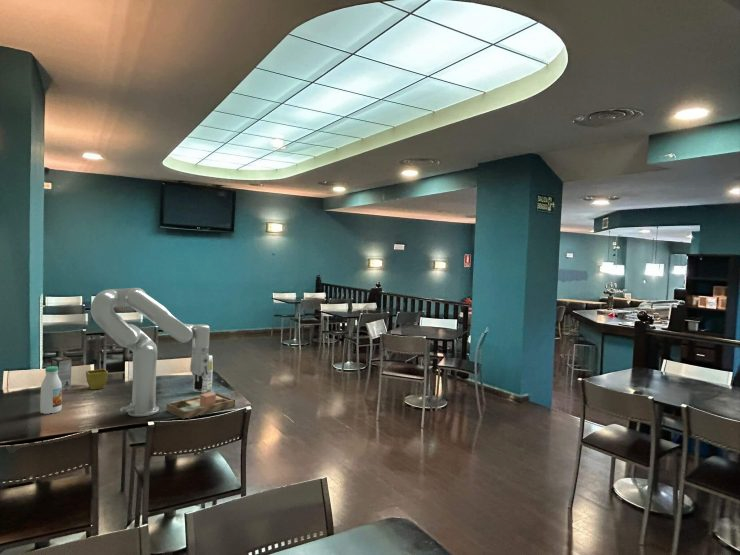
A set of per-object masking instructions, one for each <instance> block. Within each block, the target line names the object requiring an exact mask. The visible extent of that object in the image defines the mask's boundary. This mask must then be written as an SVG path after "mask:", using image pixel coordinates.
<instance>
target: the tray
mask: <svg viewBox="0 0 740 555" xmlns="http://www.w3.org/2000/svg"><path fill="white" fill-rule="evenodd" d="M213 394H216V403H215V404H212V405H208V406H204V407H203V406H201V405H200V395H199V396H195V397H191V398H187V399H186V398H185V399H183V400H182V399H181V400H179V401H173V402H169V403H168V402H167V403H166V406H165V407H166V410H165V411H166V412H168V413H170V414H171V415H174V416H176V417H178V418H180V419H182V420H184V419H185V418H188V419H191V418H195V416H196V417H199V416H198V415H200V416H203V415H207V413H208V414H211V412H212V413H215V412H218V410H219V411H222V410H221V409H223V410H226V408H227V409H230V408H234V407H236V399H235V398H232V397H230V396H227V395H225V394H222V393H219V392H213ZM214 411H215V412H214ZM185 420H186V419H185Z"/></svg>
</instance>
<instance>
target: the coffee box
mask: <svg viewBox="0 0 740 555" xmlns="http://www.w3.org/2000/svg"><path fill="white" fill-rule="evenodd" d="M72 360H73V359H72V358H71V357H68V356H66V355H61V356H55V357H51V358H50V367H51V366H57V367H58V372H57V374H58V377H59V379H60V381H61V384H62V391H65V389H67V390H71V389H72V365H73V364H72V363H73V362H72ZM70 388H71V389H70Z"/></svg>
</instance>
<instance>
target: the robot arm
mask: <svg viewBox="0 0 740 555" xmlns="http://www.w3.org/2000/svg"><path fill="white" fill-rule="evenodd" d="M123 307H124V308H125V307H130V308H131V309H132V310H135V312H137V313H139V314H140V315H142V316H143V317H144V318H146V319H147V320H149V321H150V322H151V323H153V324H154V325H155V326H157V327H158V328H160V329H161V330H162V331H163V332H165V333H166V334H167V335H169V336H170V337H172V339H173V338H174V339H175V340H176V341H178V342H179V343H182V344H183V343H188V342H190V341H191V340H192V341H191V357H190V364H189V365H190V367H189V368H190V373H191V375H194V380H196V381H195V385H194V389H196V390H197V389H202V384H203V379H204V378H206V374H207V375H208V374H209V372H210V362H209V355H210V354H209V351H210V350H209V349H210V333H211V332H210V330H211V329H210V326H209V325H208V324H204V323H203V324H202V323H201V324H200V323H199V324H192V323H183V322H182V321H181V320H179V319H178V318H177V317H175V316H174V315H173V314H172V313H171V312H170V311H169V309H168V308H166V307H165V305H163V304H162V303H160V302H158V300H156V299H154V298H153V297H152V296H150V295H149V294H147V292H146V291H145V290H144V289H142V288H140V287H129V288H127V287H126V288H113V289H112V288H108V289H105V290H102V291H100V292H99V293H97V294H96V295H95V297H94V298H93V300H92V302H91V304H90V314H91V318H92V319H93V321H94V322H95V323H96V324H97V326H99V327H100V329H102V330H103V331H104V332H105V333H106V334H107V335H108V336H110V338H111V339H112V340H114V341H115V343H117V344H118V345H119V346H120V347H122V348H127V349H129V350H130V351H131V352H132V390H131V391H132V396H131V402H129V405H127V406H122V407H119V408H120V409H119V410H120V411H119V412H121V413H124V412H125V413H127V415H129V416H131V417H149V416H152V415H154V414H157V413H159V411H160V407H159V406H157V405H156V399H157V398H156V396H157V364H158V363H157V362H158V360H157V359H158V346H157V345H156V343H155V342H154V341H153V340H152V339H151V338H150V337H149V336H148V335H147V334H146V333H145V332H144V331H143V330H142V329H140V328H139V327H138V326H137V325H136V324H132V323H127V322H126V321H125V320H124V319H123V318H122V316H120V315H119V314H118V313H117V312H116V310H114V308H123Z"/></svg>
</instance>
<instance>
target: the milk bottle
mask: <svg viewBox="0 0 740 555" xmlns="http://www.w3.org/2000/svg"><path fill="white" fill-rule="evenodd" d="M44 370H45V377H44V378H43V380H42V383H41V387H40V399H39V400H40V403H39V404H40V405H39V406H40V408H39V410H40V411H39V412H40V414H42V413H43V414H44V415H50V413H52V414H56V413H59V412H61V410H62V409H63V408H62V407H63V406H62V405H63V404H62V403H63V402H62V401H63V393H62V392H63V390H62V384H61V381H60V379H59V377H58V374H57V372H58V367H57V366H51V365H50V366H47V367H45V369H44ZM43 414H42V415H43Z"/></svg>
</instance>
